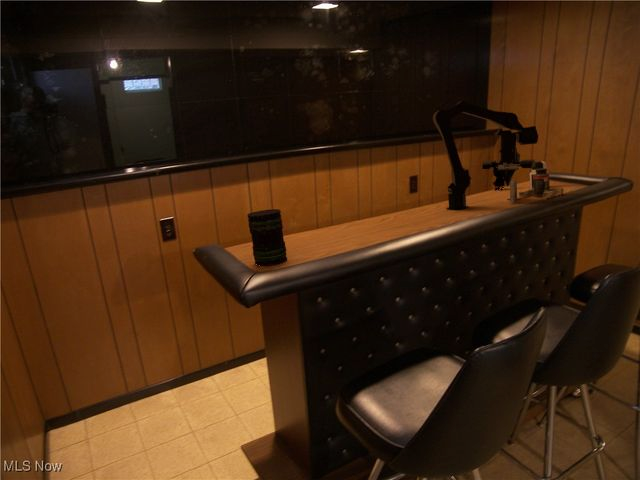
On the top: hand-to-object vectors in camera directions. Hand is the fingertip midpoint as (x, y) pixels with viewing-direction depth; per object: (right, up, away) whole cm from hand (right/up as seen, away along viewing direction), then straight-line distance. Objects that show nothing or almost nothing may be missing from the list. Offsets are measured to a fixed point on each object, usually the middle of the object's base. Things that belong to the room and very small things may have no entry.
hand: (508, 186), depth 181 cm
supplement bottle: (+17, -3, +7) cm, 19 cm away
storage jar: (-89, -28, -46) cm, 104 cm away
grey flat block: (+4, -5, +4) cm, 7 cm away
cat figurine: (+12, +3, +39) cm, 41 cm away
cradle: (+17, -3, +7) cm, 19 cm away
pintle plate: (+6, -4, +9) cm, 11 cm away
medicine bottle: (+27, +3, +30) cm, 40 cm away
